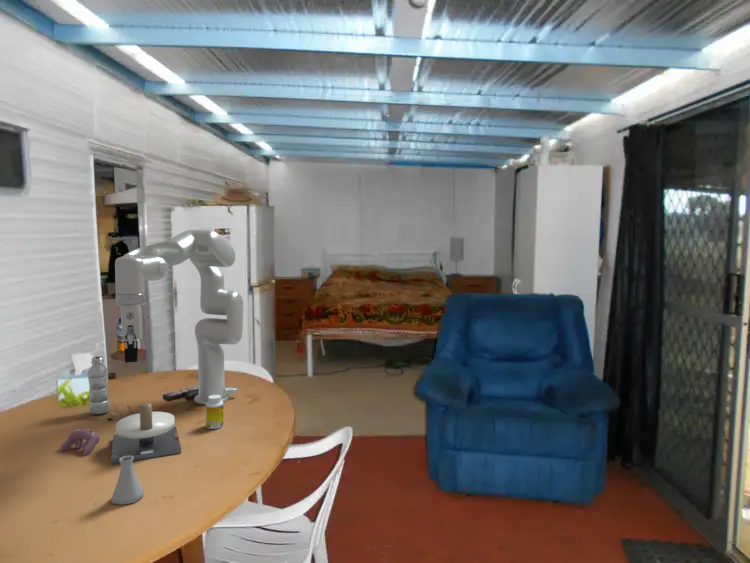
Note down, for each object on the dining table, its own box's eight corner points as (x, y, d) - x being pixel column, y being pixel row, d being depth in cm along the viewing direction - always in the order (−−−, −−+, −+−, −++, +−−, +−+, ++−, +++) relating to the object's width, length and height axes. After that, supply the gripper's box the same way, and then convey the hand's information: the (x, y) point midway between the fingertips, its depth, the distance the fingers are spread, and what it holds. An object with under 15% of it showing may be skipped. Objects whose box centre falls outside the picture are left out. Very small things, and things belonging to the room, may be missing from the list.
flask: (118, 490, 125) (117, 452, 124) (148, 489, 126) (147, 451, 125) (105, 506, 118) (104, 465, 117) (137, 505, 118) (136, 464, 117)
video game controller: (96, 456, 147) (104, 432, 149) (84, 455, 143) (92, 430, 145) (71, 451, 150) (79, 427, 152) (58, 450, 146) (67, 425, 148)
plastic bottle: (114, 410, 180) (112, 355, 178) (102, 417, 173) (100, 360, 171) (97, 409, 180) (95, 354, 179) (84, 416, 174) (82, 359, 172)
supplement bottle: (224, 428, 165) (223, 398, 164) (206, 430, 164) (205, 400, 163) (223, 422, 171) (222, 393, 170) (205, 424, 169) (205, 394, 168)
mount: (175, 430, 163) (175, 414, 162) (181, 453, 147) (180, 434, 146) (113, 439, 155) (112, 422, 154) (111, 464, 139) (111, 445, 138)
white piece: (172, 414, 161) (172, 387, 160) (176, 433, 147) (176, 403, 146) (116, 422, 154) (115, 393, 153) (115, 442, 140) (114, 410, 139)
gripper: (144, 303, 138) (145, 364, 140) (144, 296, 154) (145, 350, 155) (114, 304, 135) (115, 366, 137) (117, 296, 151) (118, 352, 152)
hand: (131, 358), depth 146 cm, fingers open, 9 cm apart
